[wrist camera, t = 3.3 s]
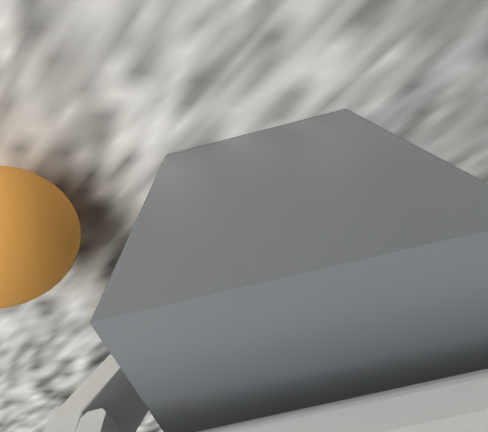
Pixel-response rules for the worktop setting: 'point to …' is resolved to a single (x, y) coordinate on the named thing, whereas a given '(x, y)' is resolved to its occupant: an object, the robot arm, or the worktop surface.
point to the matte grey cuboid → (298, 274)
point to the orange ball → (34, 236)
